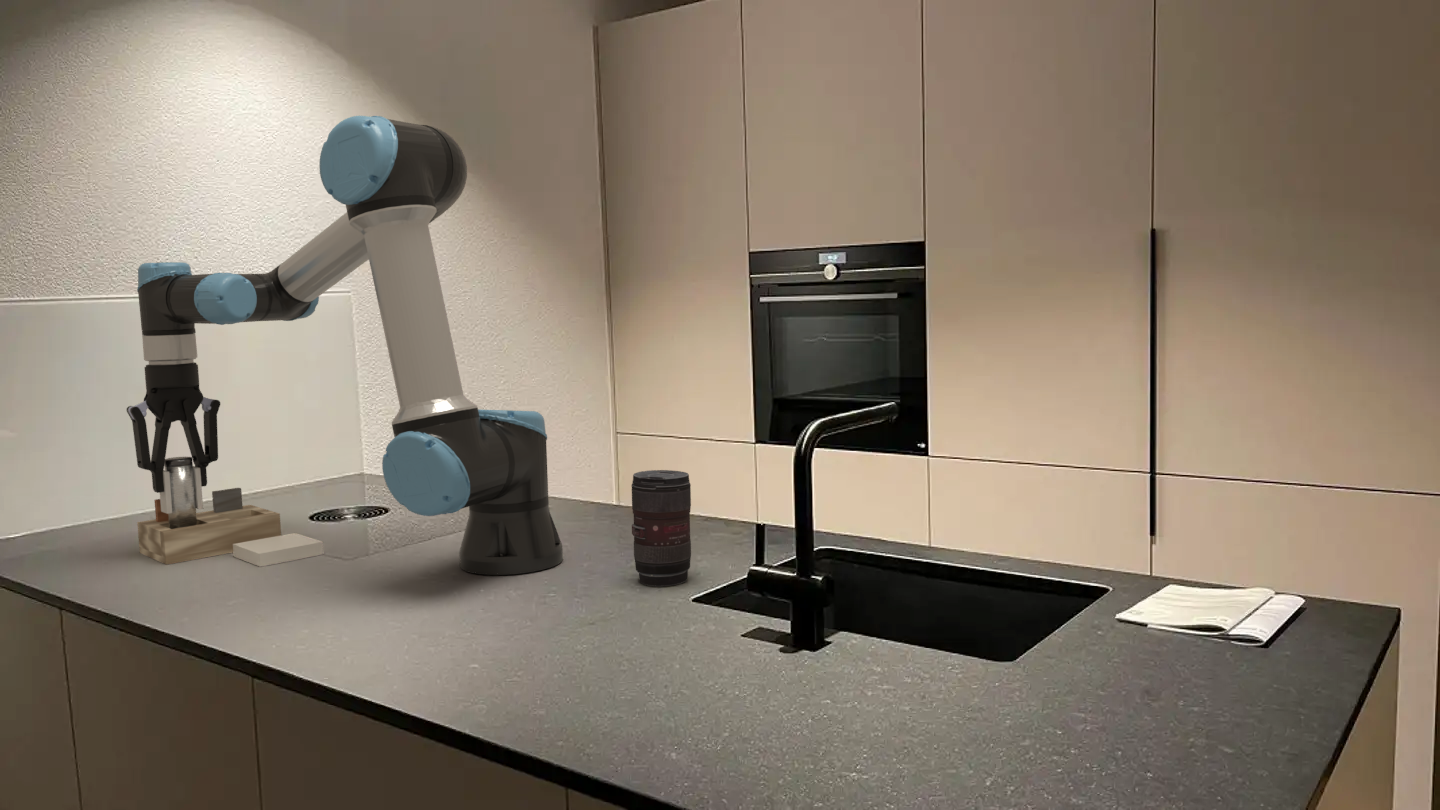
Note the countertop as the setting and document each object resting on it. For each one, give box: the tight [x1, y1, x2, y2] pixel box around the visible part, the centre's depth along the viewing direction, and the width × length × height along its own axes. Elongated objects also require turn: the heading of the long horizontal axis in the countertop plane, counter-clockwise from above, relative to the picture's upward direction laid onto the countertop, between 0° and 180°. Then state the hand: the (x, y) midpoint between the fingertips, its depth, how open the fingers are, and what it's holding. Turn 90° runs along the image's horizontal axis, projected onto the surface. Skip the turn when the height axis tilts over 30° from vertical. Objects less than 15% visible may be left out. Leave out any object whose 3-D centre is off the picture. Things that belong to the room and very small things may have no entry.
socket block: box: [136, 487, 282, 565], centre depth 182 cm, size 12×18×8 cm, turn 135°
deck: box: [233, 532, 325, 568], centre depth 176 cm, size 10×10×2 cm
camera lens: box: [631, 469, 692, 587], centre depth 154 cm, size 8×8×15 cm
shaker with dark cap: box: [164, 456, 197, 529], centre depth 177 cm, size 4×4×12 cm
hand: (182, 509), depth 177 cm, fingers closed on shaker with dark cap, 4 cm apart
